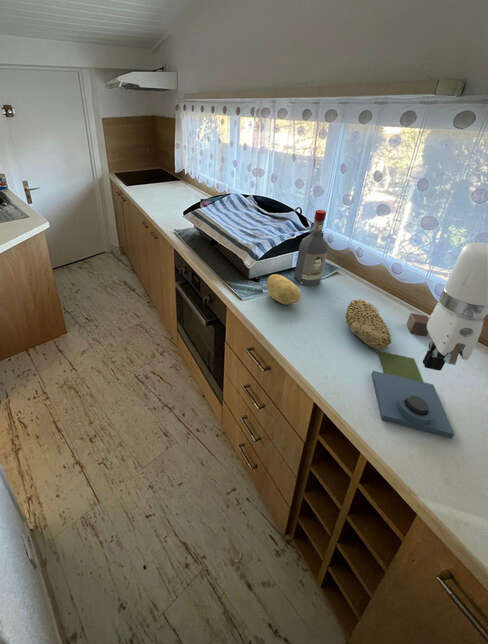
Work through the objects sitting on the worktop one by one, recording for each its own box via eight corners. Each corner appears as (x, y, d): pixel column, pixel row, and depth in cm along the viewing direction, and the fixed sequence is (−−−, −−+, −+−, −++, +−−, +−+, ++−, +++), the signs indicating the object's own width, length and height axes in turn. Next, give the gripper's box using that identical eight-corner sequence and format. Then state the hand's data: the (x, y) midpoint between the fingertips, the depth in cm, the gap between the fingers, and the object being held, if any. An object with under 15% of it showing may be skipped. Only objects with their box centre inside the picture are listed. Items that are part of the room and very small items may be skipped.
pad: (413, 359, 89) (413, 358, 89) (423, 384, 81) (423, 382, 81) (378, 352, 92) (379, 351, 91) (384, 375, 84) (385, 374, 84)
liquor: (291, 275, 131) (303, 208, 117) (310, 272, 132) (324, 206, 118) (302, 286, 123) (316, 216, 109) (323, 284, 124) (339, 214, 110)
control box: (430, 388, 80) (435, 379, 79) (451, 439, 68) (458, 429, 67) (371, 374, 84) (374, 365, 83) (381, 419, 73) (385, 410, 71)
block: (422, 326, 101) (427, 315, 99) (426, 336, 97) (431, 324, 95) (406, 323, 103) (410, 313, 101) (410, 332, 99) (414, 321, 97)
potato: (273, 312, 109) (276, 289, 104) (263, 289, 122) (266, 268, 117) (301, 311, 109) (305, 289, 104) (289, 288, 122) (292, 268, 117)
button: (422, 402, 73) (425, 398, 72) (428, 417, 70) (431, 412, 69) (403, 398, 74) (406, 393, 73) (408, 412, 71) (410, 407, 70)
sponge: (342, 311, 111) (339, 336, 94) (352, 293, 108) (351, 315, 91) (381, 329, 106) (385, 358, 89) (393, 310, 103) (399, 337, 86)
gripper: (507, 330, 55) (465, 398, 63) (468, 285, 67) (438, 347, 76) (457, 321, 57) (423, 388, 65) (429, 280, 69) (403, 341, 78)
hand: (431, 366), depth 70 cm, fingers closed
